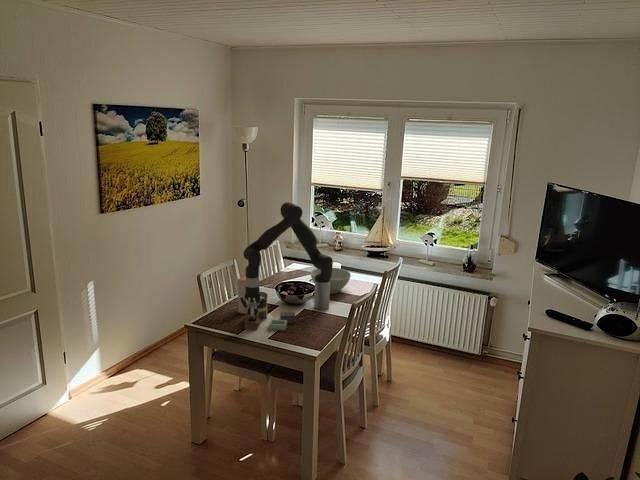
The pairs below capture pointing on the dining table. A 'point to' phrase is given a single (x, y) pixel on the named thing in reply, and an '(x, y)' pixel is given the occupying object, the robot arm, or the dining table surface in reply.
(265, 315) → the coffee can
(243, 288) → the cracker box
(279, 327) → the tray
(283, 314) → the chock
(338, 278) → the decorative bowl
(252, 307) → the pin
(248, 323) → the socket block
